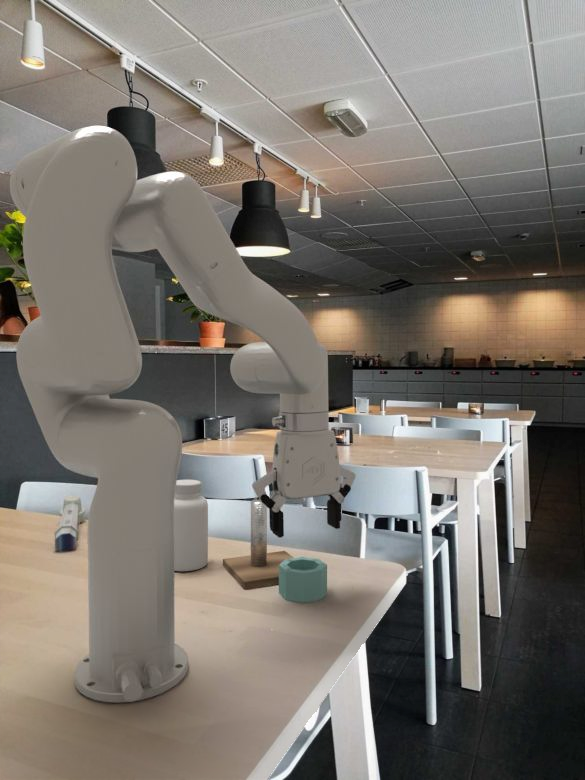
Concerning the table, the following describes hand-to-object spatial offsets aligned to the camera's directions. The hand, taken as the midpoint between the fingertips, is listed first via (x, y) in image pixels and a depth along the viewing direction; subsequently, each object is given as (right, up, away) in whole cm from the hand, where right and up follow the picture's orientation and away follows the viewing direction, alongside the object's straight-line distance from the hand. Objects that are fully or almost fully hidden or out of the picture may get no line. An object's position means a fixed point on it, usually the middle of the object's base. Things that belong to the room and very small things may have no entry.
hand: (306, 530), depth 91 cm
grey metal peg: (-8, -8, +10) cm, 15 cm away
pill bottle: (-21, -9, +13) cm, 26 cm away
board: (-7, -9, +9) cm, 15 cm away
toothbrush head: (-50, -9, +32) cm, 60 cm away
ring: (-1, -10, 0) cm, 10 cm away
